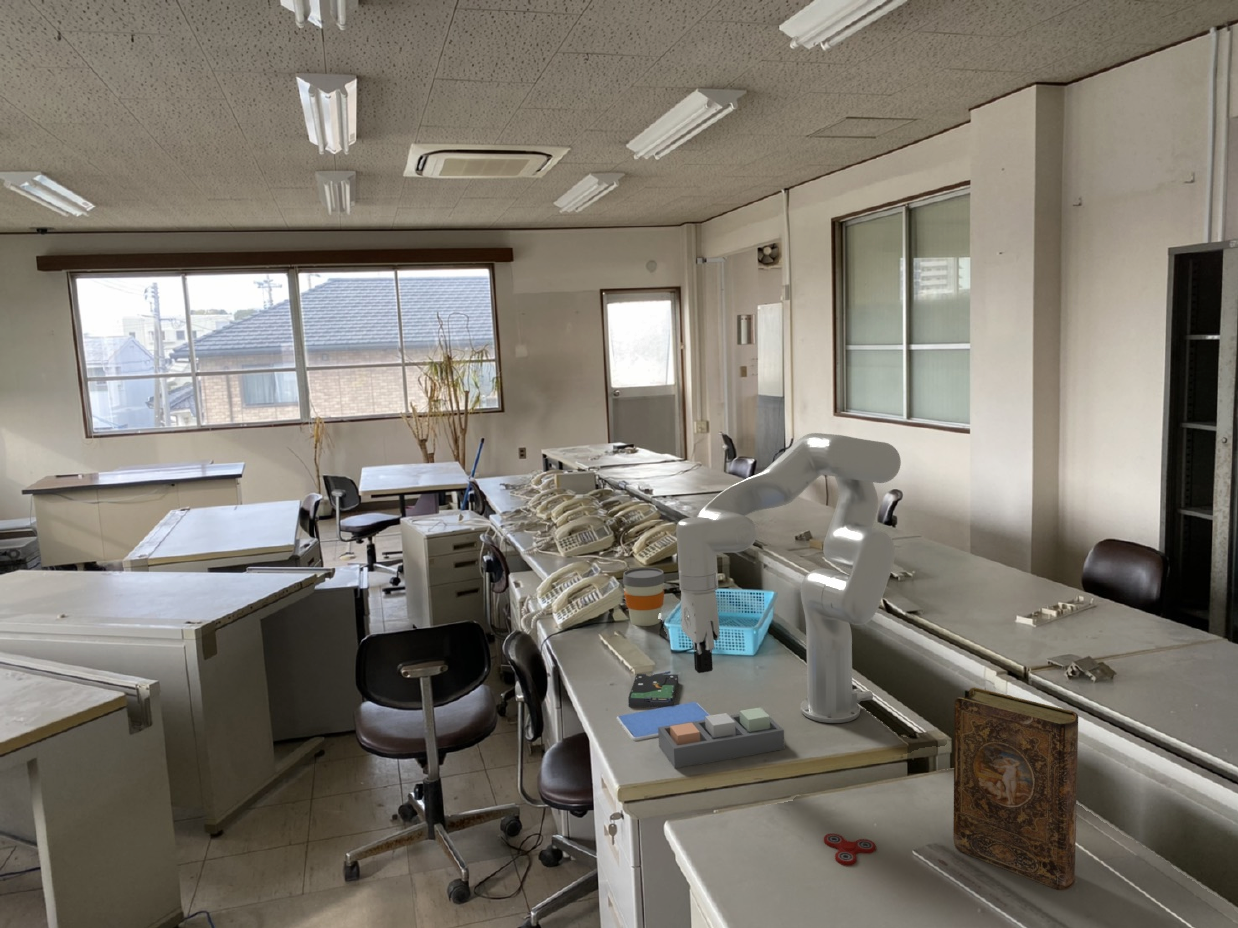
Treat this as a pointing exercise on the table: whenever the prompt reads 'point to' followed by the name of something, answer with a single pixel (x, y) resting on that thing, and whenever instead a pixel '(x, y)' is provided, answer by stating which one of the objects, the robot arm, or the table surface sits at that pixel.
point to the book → (1016, 785)
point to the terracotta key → (684, 734)
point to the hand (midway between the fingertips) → (703, 670)
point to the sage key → (754, 719)
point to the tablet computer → (659, 719)
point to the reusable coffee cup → (644, 595)
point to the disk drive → (653, 691)
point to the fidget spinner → (848, 848)
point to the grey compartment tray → (720, 744)
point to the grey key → (720, 725)
